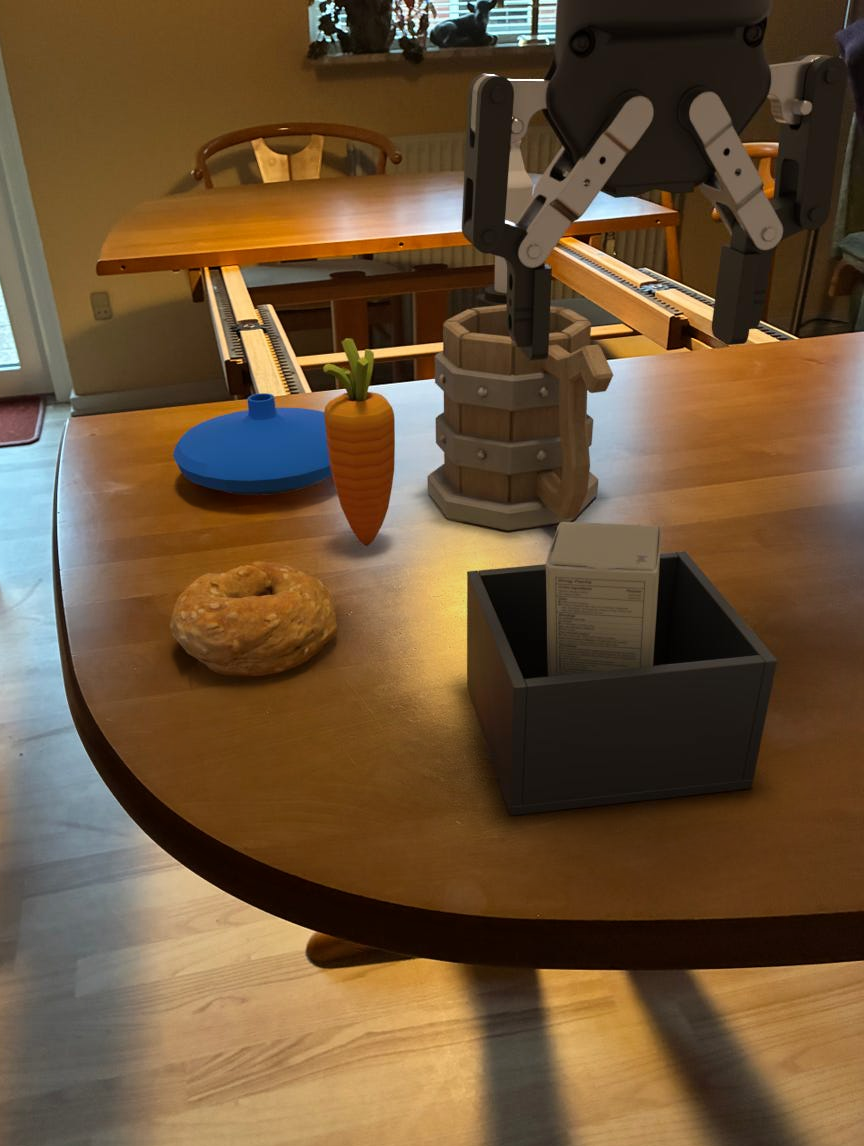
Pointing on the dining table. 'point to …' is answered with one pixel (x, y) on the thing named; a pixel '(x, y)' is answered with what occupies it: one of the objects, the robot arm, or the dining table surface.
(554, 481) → the tankard
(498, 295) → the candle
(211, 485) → the vase
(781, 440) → the dining table surface
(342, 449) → the carrot
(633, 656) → the box
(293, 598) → the bagel
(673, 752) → the bin
